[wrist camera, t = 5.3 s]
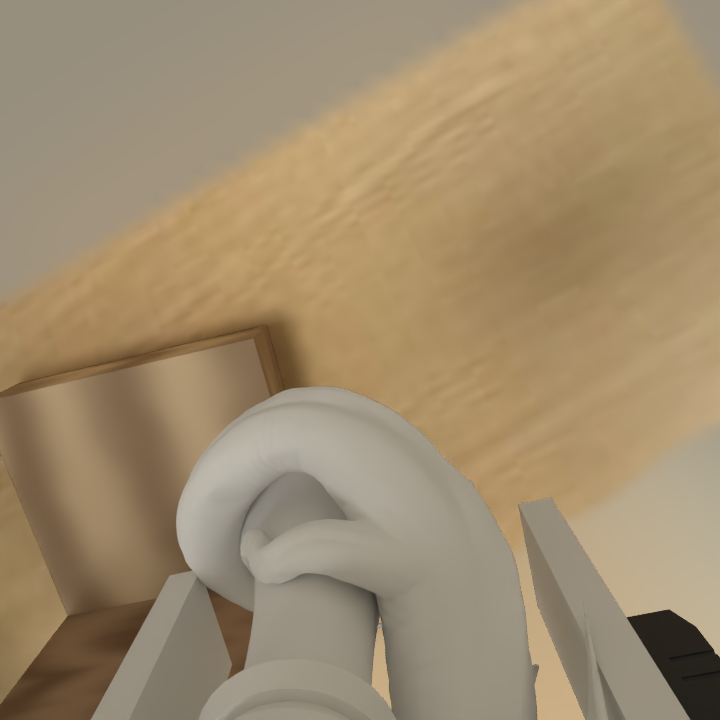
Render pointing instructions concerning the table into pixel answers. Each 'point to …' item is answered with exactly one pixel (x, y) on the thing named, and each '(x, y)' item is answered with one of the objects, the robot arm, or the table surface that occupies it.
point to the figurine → (358, 569)
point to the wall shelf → (120, 499)
